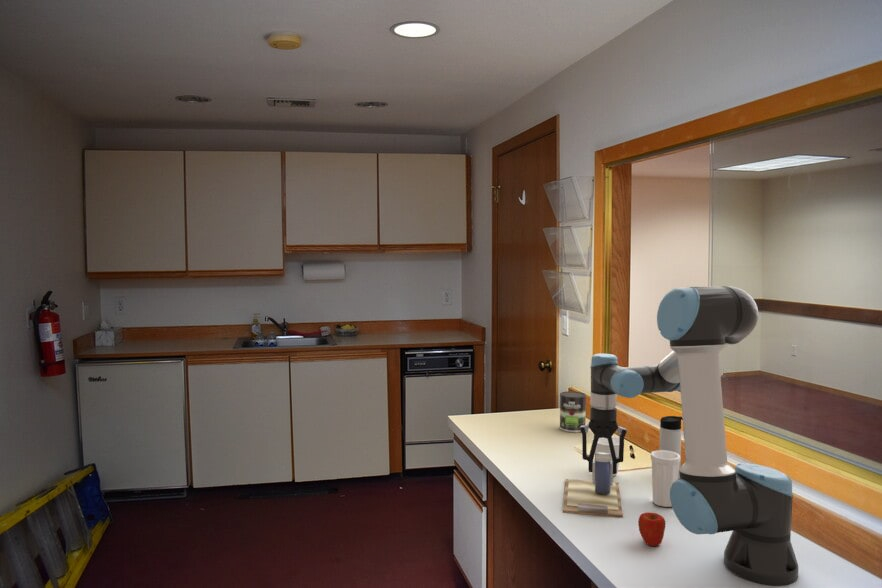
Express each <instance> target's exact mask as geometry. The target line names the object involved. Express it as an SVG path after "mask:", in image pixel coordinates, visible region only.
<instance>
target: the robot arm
mask: <svg viewBox="0 0 882 588" xmlns="http://www.w3.org/2000/svg"><path fill="white" fill-rule="evenodd" d="M758 320H759V309H758V305H757V303H756V301H755V299H754V298H753V297H752V295H750V294H749V293H748V292H747V291H745V290H744V289H742V288H739V287H736V286H732V285H729V286H728V285H724V286H723V285H722V286H686V287H685V286H684V287H678V288H672V289H671V290H669V291H668V292H666V294H664V296H663V297H662V299H661V300H660V302H659V305H658V309H657V313H656V325H657V328H658V331H660V335H661V336H662V337H663V339H666V340H667V341H669V348H670V349H671V350H672V351H670V353H668V355H666V356H665V357H664V358H663V359H662V360H661V361H659V362H658V363H657V364H656V365H643V366H628V367H627V366H626V367H624V366H620V365H619V362H618V357H617V356H616V355H615V354H611V353H595V354H593V355H592V356H591V363H590V367H589V368H590V401H589V402H590V405H591V406H590V408H589V412H590V414H589V415H590V416H589V417H590V418H589V422H588V424H585V425H584V426H583V425H581V426H580V430H581V432H580V433H581V436H582V439H581V440H582V445H581V446H582V451H581V452H582V460H584V461H587V462H588V469H587V470H588V472H589V473H591V476H592V477H591V481H592V484H595V450H596V446H597V442H598V439H599V438H608V443H609V447H610V452H611V456H612V461H611V462H610V486H613V482H614V480H613V477H614V476H613V474H616V473H617V463H619V464H620V463H624V452H625V437H626V435H627V428H626V427H625V426H624V427H622V426H619V424H618V422H617V414H618V413H617V410H618V409H617V406H618V405H617V403H618V396H620V397H621V398H623V397H624V398H627V399H633V398H634V399H635V398H636V397H637V396H639V395H641V394H651V393H652V394H653V393H654V394H655V393H656V394H657V393H672V392H677V391H680V401H681V415H682V416H681V417H682V418H683V420H682V428H683V430H682V431H683V439H684V440H683V441H684V453H685V454H684V455H685V462H684V463H683V464H682V465H680V468H679V474H680V479H679V480H676V481H675V482H673V483H672V485H671V486H672V487H671V488H670V501H671V505H672V507H671V508H672V510H673V511H672V512H673V513H674V514H675V515H674V516H675V517H676V519H677V520H678V521H679V523H680V524H681V525H682V526H683V528H685V529H686V530H687V531H688V532H690V533H692V534H694V535H707V534H708V535H715V534H718V533H725V532H731V531H732V532H731V534H730V536H729V538H728V541H727V544H726V546H725V549H724V552H723V563H724V565H725V567H726V568H727V569H728V570H729V571H730V572H731V573H733V574H734V575H736V576H738V577H741V578H743V579H745V580H748V581H750V582H754V583H758V584H762V585H769V586H783V585H784V586H785V585H789V584H792V583H794V582H796V581H797V580H798V578H799V563H798V561H797V557H796V554H795V550H794V548H793V544H792V542H791V541H792V540H791V535H792V534H791V533H792V517H793V516H792V513H793V497H794V493H793V482H792V479H791V478H790V476H788V474H786V473H784V472H782V471H781V470H778V469H776V468H772V467H769V466H766V465H762V464H755V463H746V462H741V463H738V464H736V465H735V468H734V467H733V466H732V465H731V464H730V463H729V461H728V453H727V442H726V441H727V439H726V428H725V417H724V416H725V415H724V404H723V403H724V402H723V390H722V379H721V376H722V375H721V368H720V367H721V366H720V365H721V364H720V352H721V351H722V350H724V349H725V348H726V347H728V346H730V345H733V346H734V345H737V344H739V343H740V342H741V341H743V340H744V339H746V338H747V337H748V336H749V335H750V334H751V333H752V332H753V331H754V329H755V327H756V326H757V323H758ZM589 429H590V431H591V432H592V433H593V438H592V439H593V441H592V442H591V446H590V451H589V454H588V453H587V452H588V451H587V449H588V448H587V446H588V445H587V441H588V440H587V433H589ZM616 431H618V435H619V437H618V438H619V457H616V454H615V450H614V445H613V440H612V436H613V435H615V433H616ZM617 474H618V473H617ZM617 474H616V475H617Z"/></svg>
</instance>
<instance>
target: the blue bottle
mask: <svg viewBox="0 0 882 588" xmlns="http://www.w3.org/2000/svg"><path fill="white" fill-rule="evenodd" d="M594 460H595V492H597V493H602V494H608V493H610V462H611V454H609V453H601V452H598V453H595V454H594Z"/></svg>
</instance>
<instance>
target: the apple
mask: <svg viewBox="0 0 882 588" xmlns="http://www.w3.org/2000/svg"><path fill="white" fill-rule="evenodd" d="M637 522H638V524H637V525H638V530H639V534H640V536H641V538H642V540H643V542H644V543H646V544H647V545H649V546H652V547H658V546H660V545H661V544H662V541H663V539H664V535H665V530H666V523H667V522H666V520H665V517H663V516H662V515H660V514H659V513H657V512H656V513H655V512H651V511H650V512H644V513H643V512H642V513H641V514H640V515H639V518H638V521H637Z"/></svg>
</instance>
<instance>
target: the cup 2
mask: <svg viewBox="0 0 882 588" xmlns="http://www.w3.org/2000/svg"><path fill="white" fill-rule="evenodd" d="M650 460H651V479H652V481H651V483H652V485H651V486H652V502H653V503H654V504H655V505H656V506H660V507H667V508H670V507H671V508H672V505H671V501H670V488H671V487H672V486H671V485H672V483H673V482H675V481H676V480H678V471H679V462H680V455H679V454H677V453H675V452H671V451H665V450H660V449H658V450H653V451H651V452H650Z"/></svg>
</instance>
